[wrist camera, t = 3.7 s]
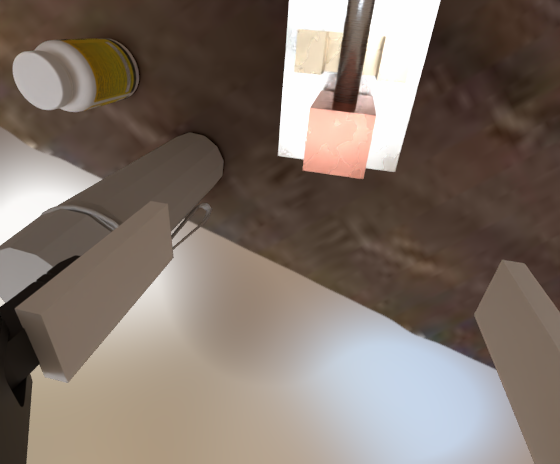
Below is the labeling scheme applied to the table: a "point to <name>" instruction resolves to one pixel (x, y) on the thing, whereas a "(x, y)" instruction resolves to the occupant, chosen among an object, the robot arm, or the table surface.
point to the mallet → (344, 106)
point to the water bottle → (113, 208)
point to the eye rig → (375, 76)
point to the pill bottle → (76, 74)
